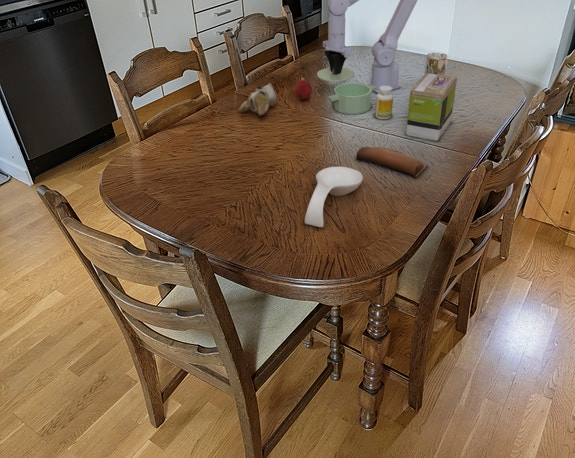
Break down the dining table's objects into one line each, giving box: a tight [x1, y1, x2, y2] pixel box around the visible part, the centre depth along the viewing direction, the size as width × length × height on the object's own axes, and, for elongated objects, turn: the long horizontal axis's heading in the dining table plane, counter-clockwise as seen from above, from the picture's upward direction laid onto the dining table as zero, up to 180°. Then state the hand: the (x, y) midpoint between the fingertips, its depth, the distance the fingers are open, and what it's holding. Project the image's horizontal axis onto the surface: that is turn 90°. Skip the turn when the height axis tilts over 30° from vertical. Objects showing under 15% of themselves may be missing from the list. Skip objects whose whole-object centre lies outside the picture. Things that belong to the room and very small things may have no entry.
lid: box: [316, 63, 355, 83], centre depth 177 cm, size 13×13×5 cm
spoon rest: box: [304, 166, 364, 228], centre depth 122 cm, size 24×12×7 cm, turn 157°
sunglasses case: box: [356, 146, 427, 178], centre depth 137 cm, size 18×7×7 cm
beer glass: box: [423, 52, 448, 76], centre depth 167 cm, size 7×7×15 cm
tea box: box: [405, 73, 458, 142], centre depth 150 cm, size 15×10×15 cm
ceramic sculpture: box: [235, 82, 277, 117], centre depth 167 cm, size 11×9×15 cm
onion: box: [294, 77, 313, 101], centre depth 173 cm, size 6×6×8 cm
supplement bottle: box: [374, 86, 394, 120], centre depth 160 cm, size 5×5×10 cm
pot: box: [327, 82, 376, 115], centre depth 168 cm, size 12×18×6 cm
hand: (335, 72), depth 177 cm, fingers closed on lid, 2 cm apart
